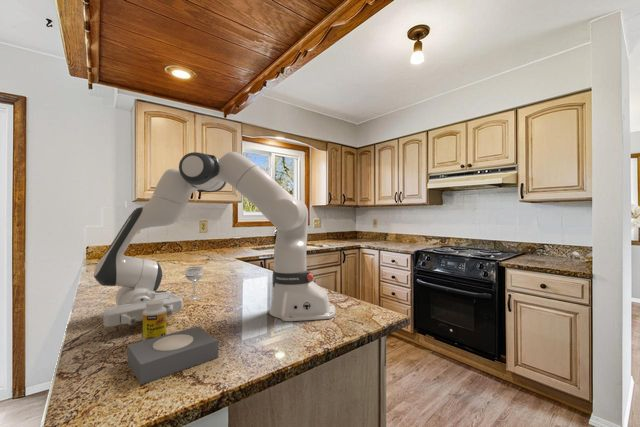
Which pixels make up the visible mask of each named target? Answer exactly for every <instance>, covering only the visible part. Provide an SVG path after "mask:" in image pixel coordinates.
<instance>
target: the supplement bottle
mask: <svg viewBox="0 0 640 427" xmlns="http://www.w3.org/2000/svg"><path fill="white" fill-rule="evenodd" d="M163 335H167V315H166V308H165V307H163V300H153V301H149V302H147V303H146V309H145V310H144V311H143V321H142V341H144V340H148V339H152V338H156V337H160V336H163Z"/></svg>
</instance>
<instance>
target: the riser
mask: <svg viewBox="0 0 640 427" xmlns="http://www.w3.org/2000/svg"><path fill="white" fill-rule="evenodd" d="M126 356H127V357H126V359H127V360H126V362H127V364H128V366H129V367H130V370H131V371H132V373H133V374H134V376H135V377H136V379H137V381H138V383H139V384H140V385H144V384H146V383H149V382H152V381H155V380H158V379H161V378H164V377H166V376H169V375H173V374H175V373H178V372H181V371H183V370H186V369H189V368H192V367H195V366H197V365H201V364H203V363H206V362H209V361H212V360H215V359H218V358H219V340H218V339H217V338H215V337H214V336H213V335H211V334H210V333H208V332H207V331H206V330H204V329H203V328H201V327H200V326H198V325H197V326H194V327H190V328H187V329H181V330H179V331H175V332H171V333H166V335H163V336H160V337H156V338H152V339H148V340H144V341H143V340H141V341H137V342H133V343H131V344H127V345H126Z"/></svg>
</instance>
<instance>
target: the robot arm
mask: <svg viewBox="0 0 640 427" xmlns="http://www.w3.org/2000/svg"><path fill="white" fill-rule="evenodd" d="M227 184H229V185H230V186H232V187H233V188H234V189H235V190H236V191H237V192H238V193H240V194H241V195H242V196H243V197H244V198H246V199H247V200H248V201H249V202H250V203H251V204H253V205H254V206H255V207H256V208H257V210H258V211H259V212H260V213H261V214H262V215H263V216H264V217H265V218H266V219H267V220H268V221H269V222H270V223H271V224H272V225H273V226H274V227H275V228H276V235H275V236H276V237H275V243H274V246H273V257H274V258H273V271H272V279H271V280H272V282H271V283H272V287H273V291H272V293H273V294H272V297H271V298H272V300H271V304H270V308H269V311H268V312H269V315H270V316H272V317H275V318H278V319H280V320H281V321H283V322H298V321H299V322H302V321H313V320H314V321H315V320H329V319H332V318H334V316H335V315H336V307H335V305H334V304H332V303H330V301H329V296H328V294H327V291H326V290H325V289H324V288H322V287H321V286H319V285H318V284H317V283H316V282H314V281H313V279H314V274H313V272H312V270H308V269H307V249H308V248H307V244H308V231H309V230H308V228H309V209H308V207H307V205H306V203H304V202H303V200H300V199H297V198H295V197H294V196H293V195H292V194H290V193H289V192H288V191H287V190H286V189H285V188H284V187H282V186H281V185H280V184H279V183H278V182H277V181H276V180H275V179H274V178H273V177H271V175H269V174H268V173H267V172H266V171H264V169H262V167H261V168H260V166H258V165H257V164H256V163H255V162H253V161H252V160H251V159H249V158H248V157H246V156H244V155H242V154H240V153H239V152H237V151H229V152H227V153H225V154H223V156H222V157H221V158H218V157H217V156H216V155H214V154H208V153H202V152H194V151H193V152H188V153H186V154H185V155H184V156H183V157H182V158H181V159H180V161H179V163H178V168H169V169H166V170H165V171H164V172H163V174H162V176H161V177H160V179H159V180H158V182H157V184H156V186H155V188H154V190H153V193H152V195H151V197H150V199H149V200H148V202H146V204H144V205H143V206H141V207H137V208H135V209H134V210H133V211H132V212H131V214H129V216H128V218H127V219H126V220H125V222H124V223H123V225H122V226H121V228H120V230H119V231H118V233H117V235H116V236H115V238H114V240H112V243H111V244H110V246H109V247H108V248H107V250H106V251H105V253H104V254H103V255H102V257H101V258H100V259H99V261H98V262H97V263H96V265H95V267H94V271H93V277H94V279H95V280H96V281H97V283H98V284H100V285H101V286H103V287H120V288H119V289H118V291H117V293H116V294H115V305H116V306H110V307H107V308H105V309H103V312H100V313H99V314H98V317H99V318H100V319H102V320H103V322H102V323H103V326H104V327H105V328H112V327H116V326H120V325H121V326H122V325H124V324H125V325H127V324H128V325H129V326H130V325H135V324H136V322H138V323H139V322H143V311H144V310H145V309H146V303H147V302H149V301H153V300H163V307H165V308H166V317H170V316H174V313H179V312H182V311H183V310H184V300H183V297H181V296H179V295H177V294H174V293H171V291H170V290H158V289H159V287H160V285H161V283H162V279H163V269H162V266H161V265H160V263H159V262H158V261H157V260H154V259H153V260H152V259H149V258H141V257H134V256H128V255H125V254H124V253H125V252H126V251H127V249H128V247H129V245H130V244H131V242H132V241H133V239H134V238H135V236H136V234H137V233H138V232H140V231H141V230H144V229H148V228H155V227H167V226H170V225H173V224H175V223H176V222H179V221H180V220H181V219H182V217H183V215H184V214H185V211H186V209H187V206H188V202H189V200H190V198H191V195H192V194H193V193H194V192H197V193H217V192H219V191H221V190H222V189H224V188H225V187H226V185H227Z"/></svg>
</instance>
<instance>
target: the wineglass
mask: <svg viewBox="0 0 640 427" xmlns="http://www.w3.org/2000/svg"><path fill="white" fill-rule="evenodd" d="M203 269H204V267H203V266H189V267H186V268H185V272H184V276H185V279H187V280H188V281H190V282H192V283H193V284H192V285H193V288H192V289H193V296H191V297H188V298H187V300H188V301H198V300H200V299H202V297H201V296H196V283H197V282H198V281H199V280H201V279H202V278H203V276H204V271H203Z"/></svg>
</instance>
